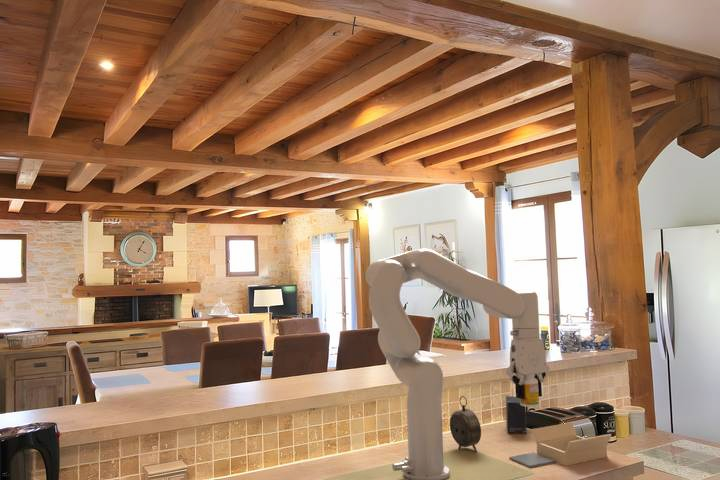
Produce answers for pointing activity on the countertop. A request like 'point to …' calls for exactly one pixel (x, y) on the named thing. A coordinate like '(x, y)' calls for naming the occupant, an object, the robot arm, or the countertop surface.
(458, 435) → the alarm clock
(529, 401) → the supplement bottle
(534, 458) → the plate
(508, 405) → the small box
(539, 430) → the carton
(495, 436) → the countertop surface
